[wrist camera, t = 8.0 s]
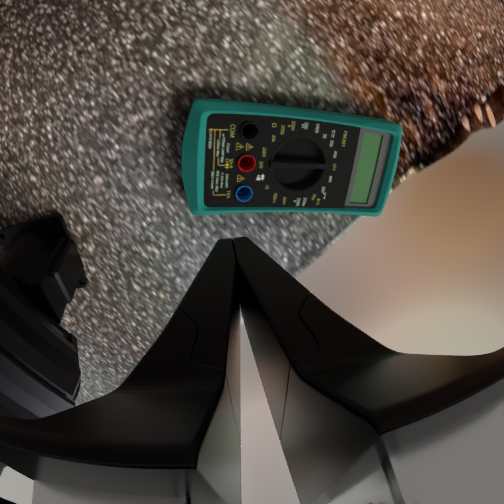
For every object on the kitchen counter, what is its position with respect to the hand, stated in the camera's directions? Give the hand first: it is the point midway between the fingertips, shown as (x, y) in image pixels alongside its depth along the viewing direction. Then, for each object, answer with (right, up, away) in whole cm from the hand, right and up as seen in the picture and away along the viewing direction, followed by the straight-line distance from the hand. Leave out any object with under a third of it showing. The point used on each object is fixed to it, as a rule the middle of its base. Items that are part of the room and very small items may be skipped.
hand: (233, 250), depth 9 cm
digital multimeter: (+3, +7, +12) cm, 14 cm away
